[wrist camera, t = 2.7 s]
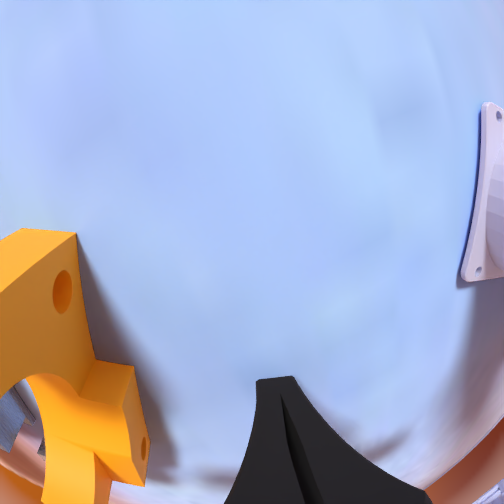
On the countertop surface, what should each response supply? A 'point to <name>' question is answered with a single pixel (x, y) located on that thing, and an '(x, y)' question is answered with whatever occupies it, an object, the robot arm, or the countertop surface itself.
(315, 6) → the countertop surface
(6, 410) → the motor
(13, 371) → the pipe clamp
